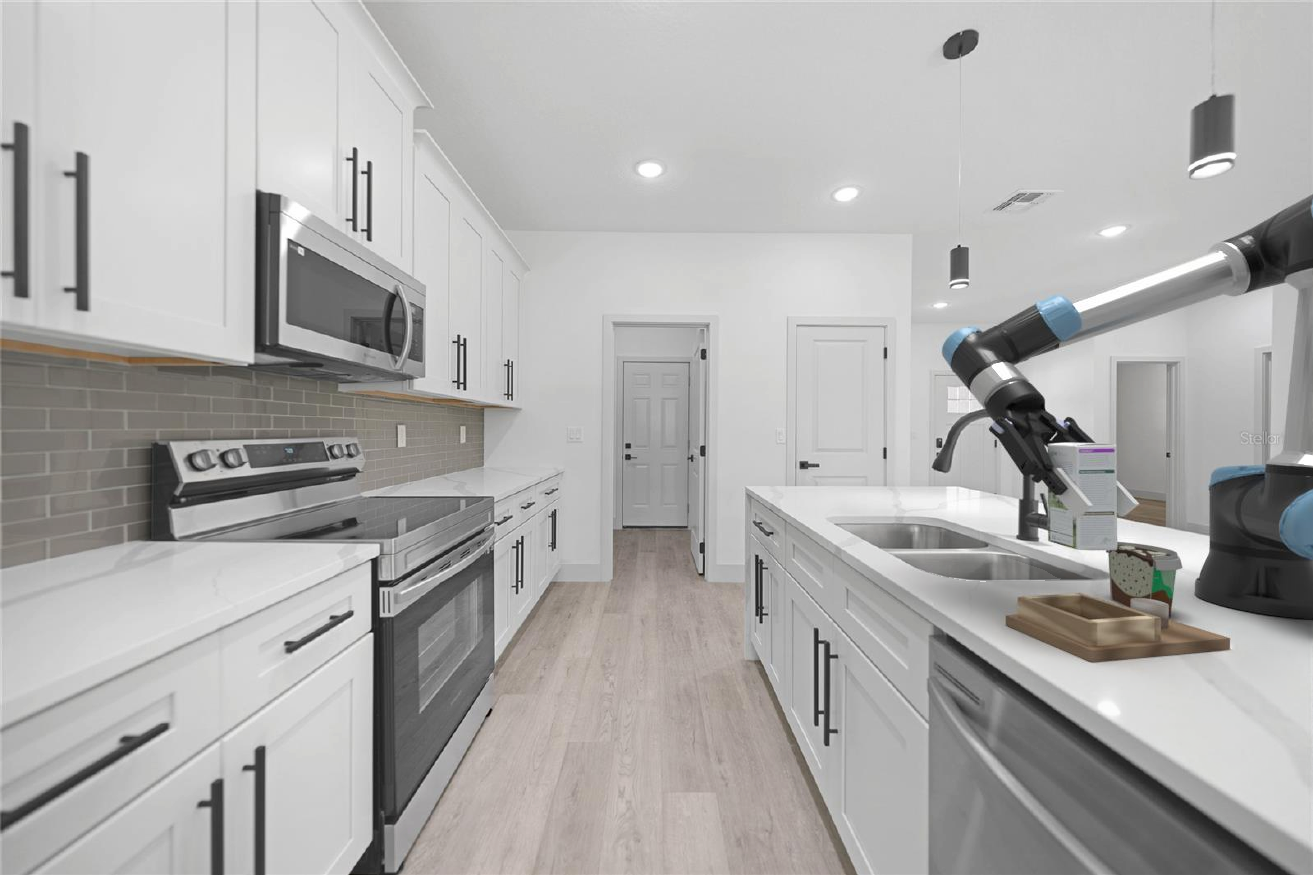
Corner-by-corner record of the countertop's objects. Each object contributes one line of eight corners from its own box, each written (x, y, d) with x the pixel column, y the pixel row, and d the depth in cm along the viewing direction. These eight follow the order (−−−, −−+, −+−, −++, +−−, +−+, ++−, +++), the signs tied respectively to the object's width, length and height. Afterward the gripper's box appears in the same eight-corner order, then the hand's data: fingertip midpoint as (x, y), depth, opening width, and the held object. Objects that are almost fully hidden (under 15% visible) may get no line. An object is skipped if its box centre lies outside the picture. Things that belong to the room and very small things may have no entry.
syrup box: (1119, 550, 72) (1120, 443, 72) (1075, 550, 72) (1075, 443, 72) (1086, 542, 78) (1087, 442, 77) (1045, 541, 78) (1045, 442, 78)
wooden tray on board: (1127, 616, 84) (1127, 587, 83) (1230, 649, 71) (1230, 615, 71) (1005, 625, 80) (1006, 595, 79) (1091, 662, 67) (1091, 626, 67)
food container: (1204, 625, 80) (1205, 558, 80) (1156, 622, 81) (1156, 556, 81) (1146, 600, 92) (1147, 542, 92) (1105, 597, 93) (1105, 540, 93)
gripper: (1044, 413, 91) (1146, 525, 75) (942, 413, 88) (1026, 529, 72) (1073, 379, 86) (1189, 491, 70) (966, 378, 83) (1062, 495, 67)
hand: (1106, 510), depth 71 cm, fingers closed on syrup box, 7 cm apart
